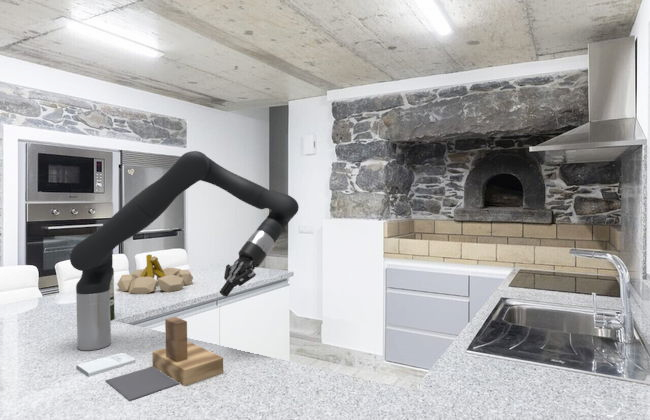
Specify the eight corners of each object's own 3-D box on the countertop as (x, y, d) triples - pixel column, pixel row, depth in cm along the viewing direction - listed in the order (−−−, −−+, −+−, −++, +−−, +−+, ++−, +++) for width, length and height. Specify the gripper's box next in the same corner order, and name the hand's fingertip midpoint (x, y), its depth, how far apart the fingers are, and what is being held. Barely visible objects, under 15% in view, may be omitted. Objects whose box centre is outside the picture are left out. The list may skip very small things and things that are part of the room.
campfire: (140, 280, 238) (139, 250, 237) (200, 280, 237) (200, 250, 236) (105, 295, 203) (104, 259, 202) (175, 295, 202) (175, 259, 201)
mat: (105, 381, 108) (105, 380, 108) (152, 367, 117) (152, 366, 117) (129, 401, 98) (129, 399, 97) (178, 384, 106) (178, 383, 106)
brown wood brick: (165, 356, 114) (165, 319, 114) (176, 353, 116) (175, 316, 116) (176, 362, 110) (176, 323, 110) (187, 359, 112) (186, 321, 112)
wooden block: (152, 366, 118) (152, 351, 117) (189, 355, 126) (189, 341, 125) (184, 386, 105) (184, 370, 105) (223, 372, 113) (223, 357, 113)
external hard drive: (76, 370, 116) (122, 357, 126) (88, 378, 111) (135, 364, 120) (76, 364, 116) (122, 351, 125) (88, 372, 111) (135, 358, 120)
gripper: (237, 239, 134) (202, 283, 125) (263, 242, 125) (227, 290, 116) (251, 254, 138) (218, 298, 129) (277, 258, 129) (244, 306, 120)
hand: (222, 294), depth 123 cm, fingers closed
